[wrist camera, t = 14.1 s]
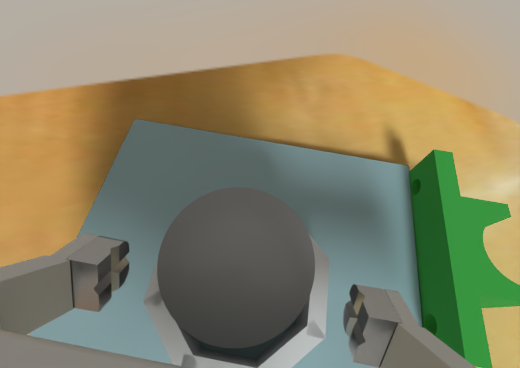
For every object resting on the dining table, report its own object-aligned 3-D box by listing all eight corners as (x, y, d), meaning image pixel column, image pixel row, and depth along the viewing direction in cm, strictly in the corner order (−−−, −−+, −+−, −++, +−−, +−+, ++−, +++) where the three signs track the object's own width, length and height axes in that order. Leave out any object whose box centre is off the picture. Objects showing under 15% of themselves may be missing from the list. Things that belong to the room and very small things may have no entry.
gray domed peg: (188, 325, 14) (131, 329, 7) (210, 239, 16) (184, 176, 9) (275, 342, 14) (308, 364, 7) (286, 253, 16) (320, 200, 9)
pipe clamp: (474, 365, 16) (556, 382, 11) (408, 353, 16) (465, 366, 12) (447, 190, 21) (497, 158, 16) (397, 182, 21) (434, 148, 17)
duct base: (-20, 480, 12) (-148, 558, 8) (141, 131, 21) (118, 87, 17) (423, 578, 12) (517, 714, 8) (397, 175, 21) (434, 141, 17)
